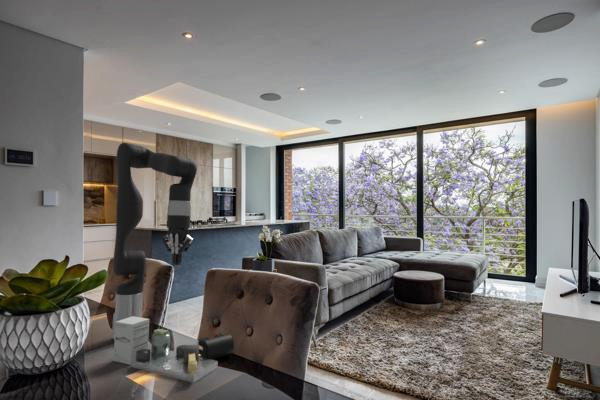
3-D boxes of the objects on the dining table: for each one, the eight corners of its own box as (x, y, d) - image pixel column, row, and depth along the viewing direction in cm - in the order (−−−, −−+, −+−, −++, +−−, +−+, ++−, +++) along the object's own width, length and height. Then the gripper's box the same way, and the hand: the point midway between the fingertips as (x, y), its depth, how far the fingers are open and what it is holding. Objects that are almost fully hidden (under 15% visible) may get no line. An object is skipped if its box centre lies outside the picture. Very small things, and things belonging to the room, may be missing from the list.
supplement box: (112, 361, 107) (114, 321, 108) (131, 353, 114) (133, 315, 115) (130, 365, 105) (132, 324, 105) (148, 356, 111) (150, 318, 112)
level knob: (183, 358, 105) (183, 345, 105) (198, 357, 106) (198, 344, 107) (184, 376, 93) (184, 361, 94) (200, 374, 95) (201, 359, 95)
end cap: (207, 365, 106) (208, 343, 107) (196, 358, 111) (197, 337, 111) (234, 356, 113) (234, 336, 114) (222, 350, 118) (223, 331, 119)
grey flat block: (131, 366, 104) (132, 336, 104) (161, 353, 115) (162, 325, 115) (193, 383, 94) (194, 349, 95) (219, 366, 105) (220, 336, 106)
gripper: (156, 213, 115) (153, 264, 114) (186, 214, 110) (183, 267, 109) (172, 214, 122) (170, 262, 121) (201, 214, 117) (199, 264, 116)
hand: (176, 264), depth 115 cm, fingers closed
